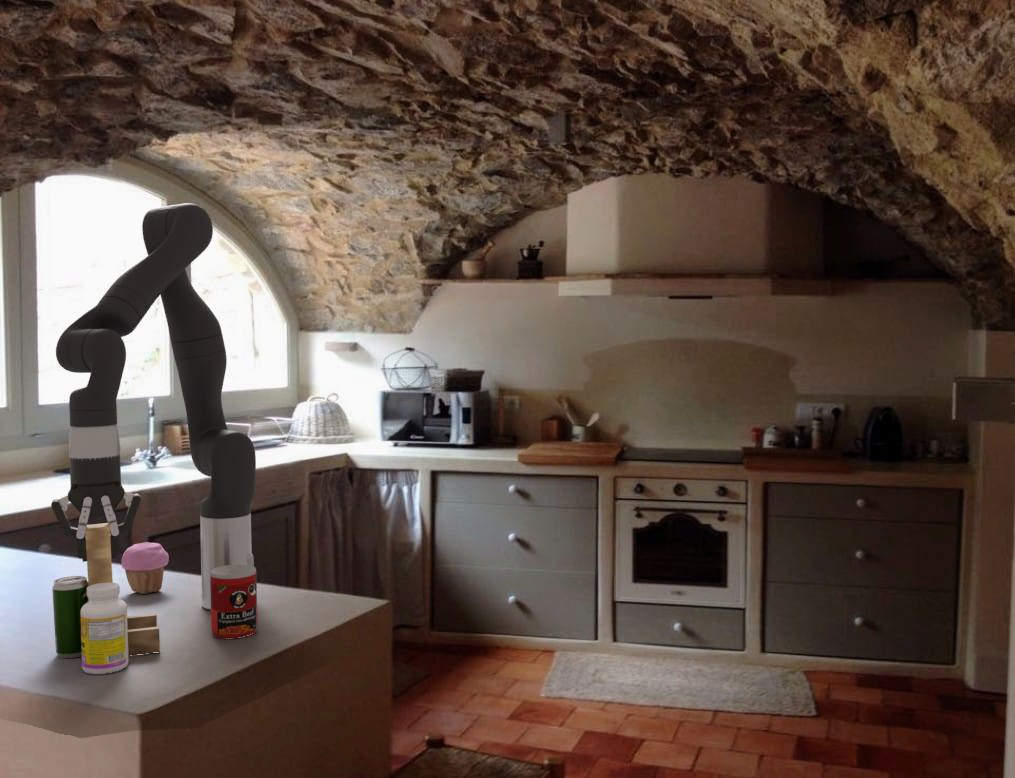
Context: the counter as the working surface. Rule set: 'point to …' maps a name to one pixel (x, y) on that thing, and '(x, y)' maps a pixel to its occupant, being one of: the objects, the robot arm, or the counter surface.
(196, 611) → the counter surface
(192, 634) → the counter surface
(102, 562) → the bar
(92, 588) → the supplement bottle
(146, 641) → the channel
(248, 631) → the canned food
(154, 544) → the cupcake
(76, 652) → the beer can
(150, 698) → the counter surface
